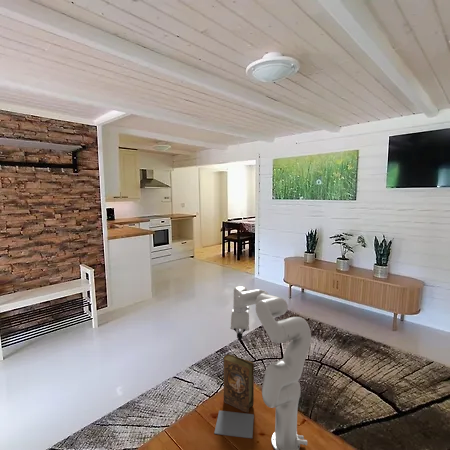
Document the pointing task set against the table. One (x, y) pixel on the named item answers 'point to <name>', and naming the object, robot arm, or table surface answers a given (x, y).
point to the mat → (234, 424)
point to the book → (238, 382)
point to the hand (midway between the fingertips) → (239, 339)
